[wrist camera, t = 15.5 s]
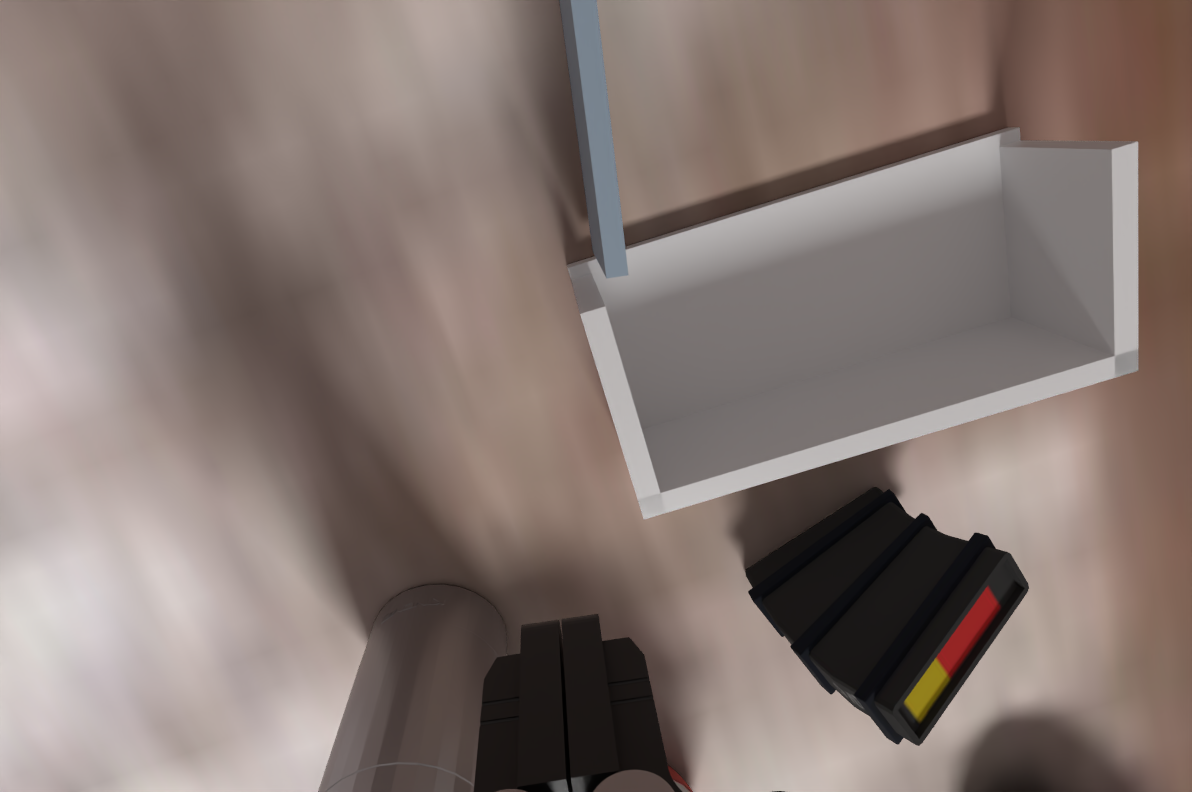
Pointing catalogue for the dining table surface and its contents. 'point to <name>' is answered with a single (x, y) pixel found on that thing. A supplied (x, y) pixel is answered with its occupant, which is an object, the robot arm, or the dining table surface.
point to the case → (866, 312)
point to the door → (594, 133)
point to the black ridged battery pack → (888, 608)
